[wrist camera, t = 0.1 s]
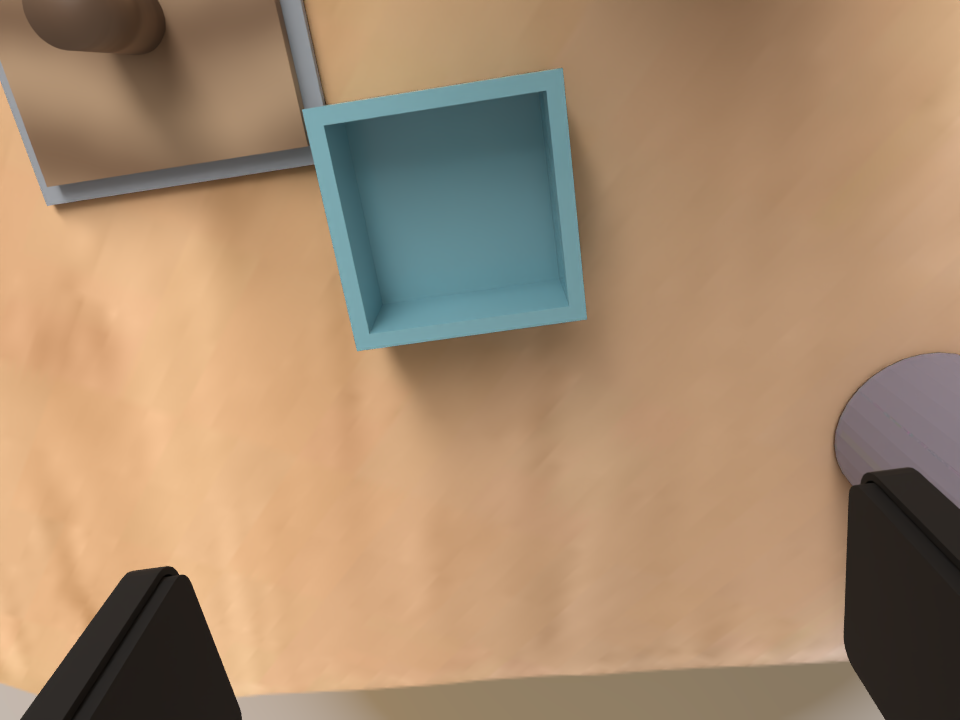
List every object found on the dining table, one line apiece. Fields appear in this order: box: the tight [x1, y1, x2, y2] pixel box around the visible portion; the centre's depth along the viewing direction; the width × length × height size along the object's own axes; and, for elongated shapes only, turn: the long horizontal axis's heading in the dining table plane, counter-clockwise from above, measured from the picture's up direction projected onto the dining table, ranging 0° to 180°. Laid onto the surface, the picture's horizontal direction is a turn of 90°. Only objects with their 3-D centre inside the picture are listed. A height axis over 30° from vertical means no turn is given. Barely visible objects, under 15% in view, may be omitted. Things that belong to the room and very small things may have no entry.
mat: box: [0, 0, 325, 206], centre depth 35 cm, size 16×16×1 cm
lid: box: [0, 0, 310, 187], centre depth 32 cm, size 14×14×7 cm
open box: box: [302, 68, 587, 351], centre depth 36 cm, size 12×12×6 cm
